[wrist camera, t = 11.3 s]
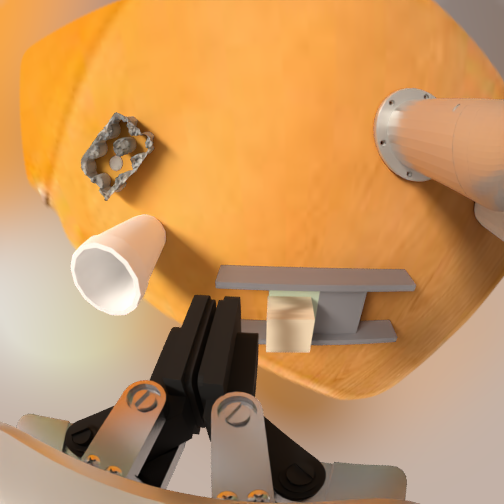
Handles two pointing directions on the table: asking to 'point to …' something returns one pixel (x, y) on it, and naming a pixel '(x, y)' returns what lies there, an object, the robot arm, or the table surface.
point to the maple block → (289, 324)
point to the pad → (312, 294)
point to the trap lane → (324, 298)
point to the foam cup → (118, 264)
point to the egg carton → (120, 148)
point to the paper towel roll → (490, 220)
